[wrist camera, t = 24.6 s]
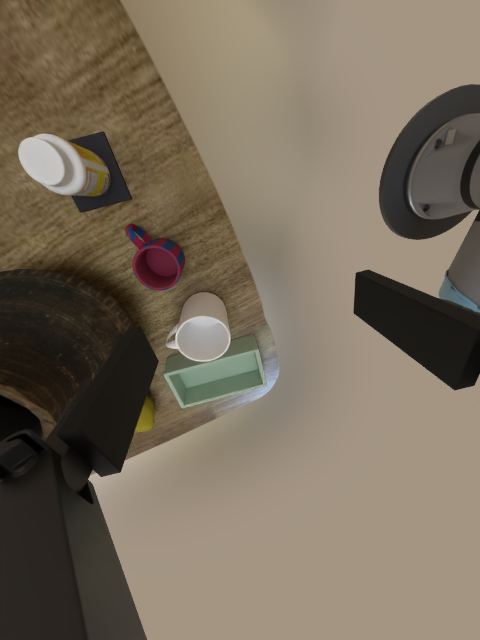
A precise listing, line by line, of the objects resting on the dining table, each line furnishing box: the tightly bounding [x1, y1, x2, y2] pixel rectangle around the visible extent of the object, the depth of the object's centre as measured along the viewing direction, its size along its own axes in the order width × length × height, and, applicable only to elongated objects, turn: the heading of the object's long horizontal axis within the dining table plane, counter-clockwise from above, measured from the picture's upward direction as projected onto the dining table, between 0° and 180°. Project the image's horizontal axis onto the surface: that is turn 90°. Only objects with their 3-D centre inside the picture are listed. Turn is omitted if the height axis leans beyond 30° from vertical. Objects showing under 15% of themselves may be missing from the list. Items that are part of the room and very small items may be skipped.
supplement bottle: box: [18, 134, 110, 197], centre depth 26 cm, size 6×6×10 cm
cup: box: [125, 224, 185, 290], centre depth 34 cm, size 7×10×7 cm
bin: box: [163, 335, 267, 408], centre depth 47 cm, size 20×11×6 cm, turn 103°
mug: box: [165, 292, 231, 362], centre depth 38 cm, size 9×12×11 cm
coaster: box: [69, 132, 132, 212], centre depth 30 cm, size 8×8×1 cm
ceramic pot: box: [0, 269, 135, 442], centre depth 31 cm, size 24×24×22 cm
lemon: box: [135, 396, 155, 432], centre depth 48 cm, size 11×8×8 cm
